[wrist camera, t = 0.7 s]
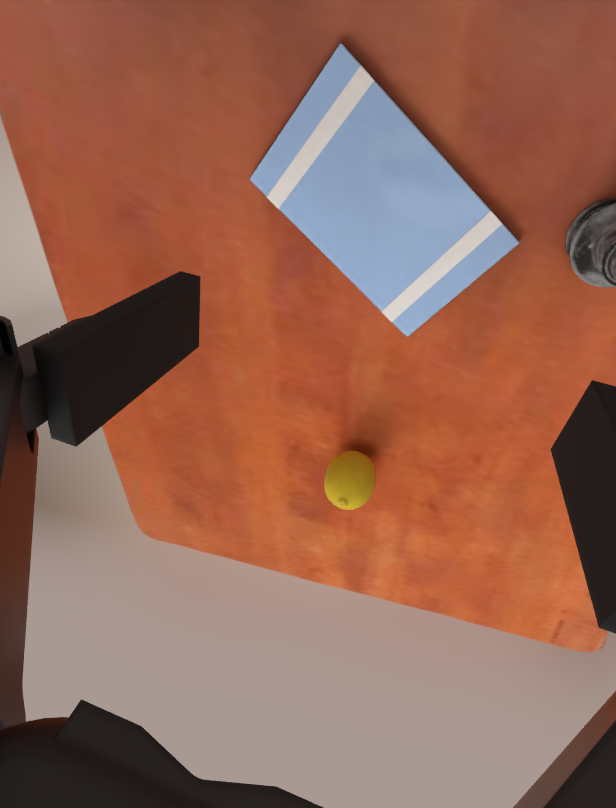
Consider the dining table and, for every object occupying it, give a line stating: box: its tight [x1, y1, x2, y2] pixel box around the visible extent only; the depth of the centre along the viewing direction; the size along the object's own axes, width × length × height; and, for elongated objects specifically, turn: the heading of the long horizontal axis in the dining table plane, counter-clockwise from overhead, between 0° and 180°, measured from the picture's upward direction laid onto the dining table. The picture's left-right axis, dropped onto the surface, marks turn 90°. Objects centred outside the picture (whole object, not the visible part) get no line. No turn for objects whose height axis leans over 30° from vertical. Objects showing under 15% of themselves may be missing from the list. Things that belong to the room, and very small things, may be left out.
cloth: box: [250, 43, 519, 337], centre depth 38 cm, size 12×20×1 cm, turn 50°
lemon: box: [324, 451, 376, 510], centre depth 49 cm, size 6×6×8 cm
